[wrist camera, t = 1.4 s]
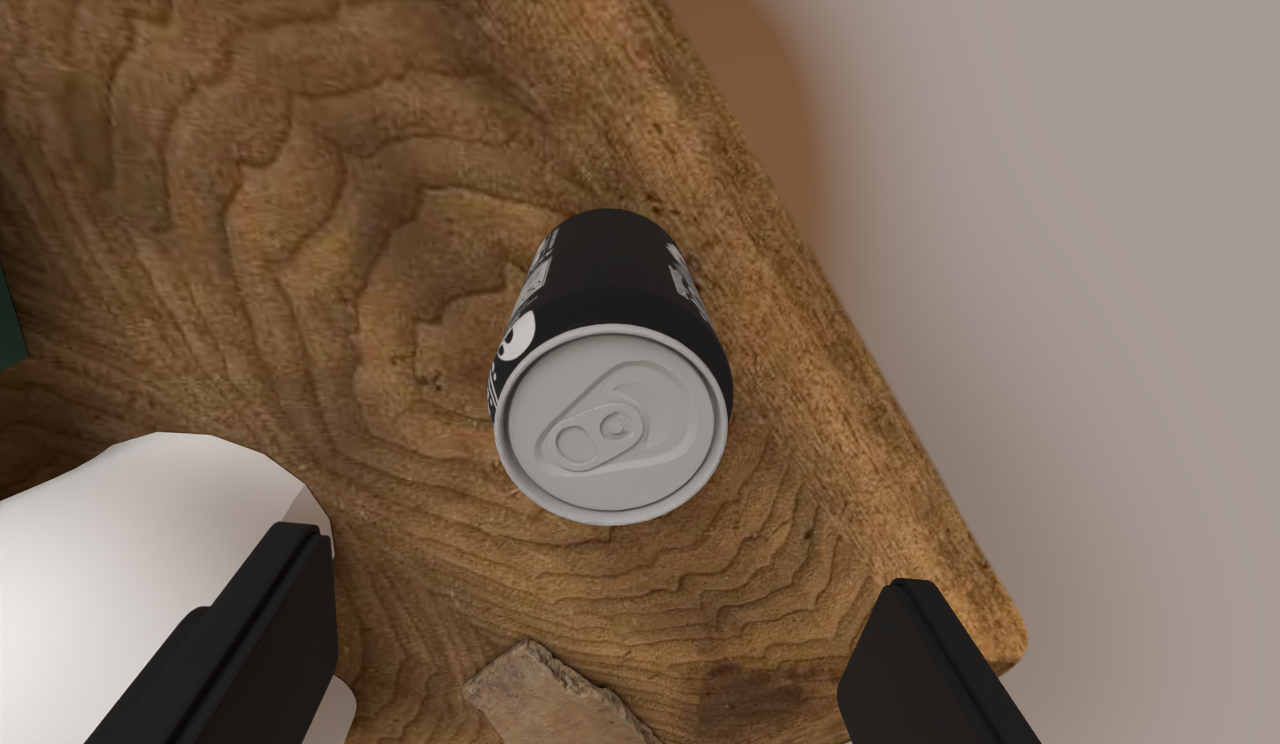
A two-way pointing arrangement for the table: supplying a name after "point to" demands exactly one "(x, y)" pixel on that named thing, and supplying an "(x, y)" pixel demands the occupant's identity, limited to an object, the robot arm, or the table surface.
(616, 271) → the beverage can
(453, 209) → the table surface
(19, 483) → the table surface
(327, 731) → the cylindrical container
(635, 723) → the pottery shard
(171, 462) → the vase
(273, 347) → the table surface
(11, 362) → the green l-shaped bookend
